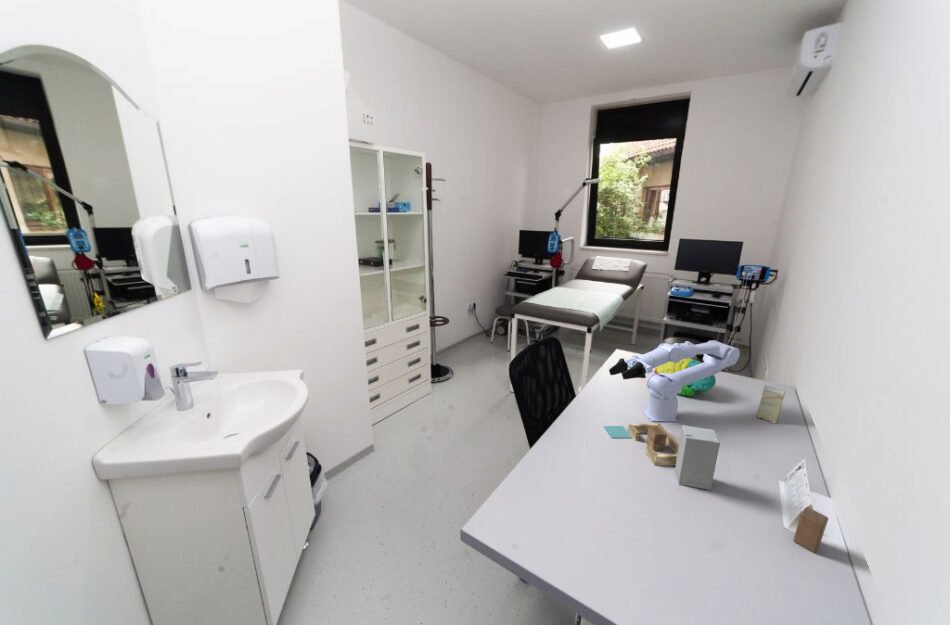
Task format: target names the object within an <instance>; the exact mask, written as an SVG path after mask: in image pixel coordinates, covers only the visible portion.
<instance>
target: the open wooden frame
mask: <svg viewBox="0 0 950 625" xmlns="http://www.w3.org/2000/svg"><path fill="white" fill-rule="evenodd" d="M651 427H661V429H662V430H663V431H664V432H665V433H666V434H667V439H666V444H667V445H668V446H669V447H670V449H671V450H673V452H674V453H672V454H669V453H667V454H663V453H661V454H658V453H657V451H654V450H653V448H652V447H651V446H648V445H646V449H645V455H646V456H647V458H648V459H649V460H650V461H651V462H652V464H653V465H654V466H676V461H677V454H678V448H679V442H678V441H677V440H676V439H675V438H674V437H673V436H672V435H671V434H670V432H668V430H667V429H666V428H664V427H663V425H661V424H660V423H628V428H627V432H628V433H629V435H630V436H631V437H632V439H633V440H634V441H635V442H637V441H638V442H639V439H640V438H639V437H640V434H648V428H651Z"/></svg>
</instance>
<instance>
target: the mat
mask: <svg viewBox="0 0 950 625" xmlns="http://www.w3.org/2000/svg"><path fill="white" fill-rule="evenodd" d="M603 428H604V430H605V432H606V433H607V434H608V436H609V437H610V438H611V439H633V437H632V436H631V435H630V434H629V432H628V430H626V429H625V427H624V426H623V425H603Z"/></svg>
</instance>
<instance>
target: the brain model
mask: <svg viewBox="0 0 950 625" xmlns="http://www.w3.org/2000/svg"><path fill="white" fill-rule="evenodd" d="M701 363H702V362H701V361H698V360H695V359H693V358H687V359H682V360H680V361H679V362H678V363H673V362H670V361H669V362H668V363H665V364H663V365H660V366H658V367H655V368H654V369H655V370H654V371H653V372H654V373H653V374H655V373H656V374H660V373H668V374H672V373H675V372H678V371H681V370H684V369H687V368H689V367H692V366H695V365H698V364H701ZM716 381H717V380H716V376H715V375H712V376H709V377H707V378H704V379H701V380H698V381H696V382H693V383H690V384H688V385H685V386H682V390H681V393H679V394H678V395H680V396H683V397H690V396H694V395H695V394H696V392H705V393H706V392H708V391H710V390H711V389H713V387H715V385H716Z"/></svg>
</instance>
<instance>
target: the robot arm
mask: <svg viewBox="0 0 950 625" xmlns="http://www.w3.org/2000/svg"><path fill="white" fill-rule="evenodd" d="M740 352H741V351H740V349H739V348H738V347H735V346H734V347H733V346H732V345H731V346H730V345H729V344H725V343H722V342H719V341H718V340H715V339H714V340H708V341H707V342H702V343H699V344H698V343H697V344H694V343H692V342H690V341H686V340H685V341H684V343H683V342H681V343H678V342H675V343H673V344H671V343H667V342H661V343H660V344H659V345H658V347H656V348H654V349H653V350H651V351H648V352H646V353H644V354H641V355H637V354H633V355H632V358H629V359H625V358H622V357H621V358H620V359H619V360H618V361H617V362H616V363H615V364H614V365H613V366H611V368H609V369H608V372H609V375H610V376H616V375H619V374H621V376H622V380H632V379H646V378H647V376H646V374H648V375H649V374H650V373H652V374H650V375H649V376H648V378H647V379H646V382H645V383H646V387H647V388H648V392H649V395H648V402H647V408H646V409H641V411H642V412H643V413H644V415H645V416H646V417H647V418H648V419H649V420H650V421H651V422H677V421H678V420H677V419H676V418H677V412H678V409H679V408H678V406H679V401H678V397H677V395H679V393H681V390H682V386H685V385H688V384H690V383H693V382H696V381H698V380H701V379H704V378H707V377H709V376H712V375H714V376H715V375H717V374H719V373H720V372H721V371H723V370H724V369H726V368H729V367H731V366H735V365H736V363H737V362H738V360H739V358H740V356H741V355H740V354H741V353H740ZM697 355H703V357H702V361H703V362H700V363H701V364H698V365H695V366H692V367H689V368H687V369H684V370H681V371H678V372H675V373H672V374H668V373H660V374H656V373H655V374H654V373H653V372H654V371H653V369H656V368H657V367H658V366H660V365H663V364H665V363H668V362H669V361H670V362H673V363H678V362H679V361H680V360H682V359H687V358H690V359H693V358H695V357H696V356H697Z"/></svg>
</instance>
